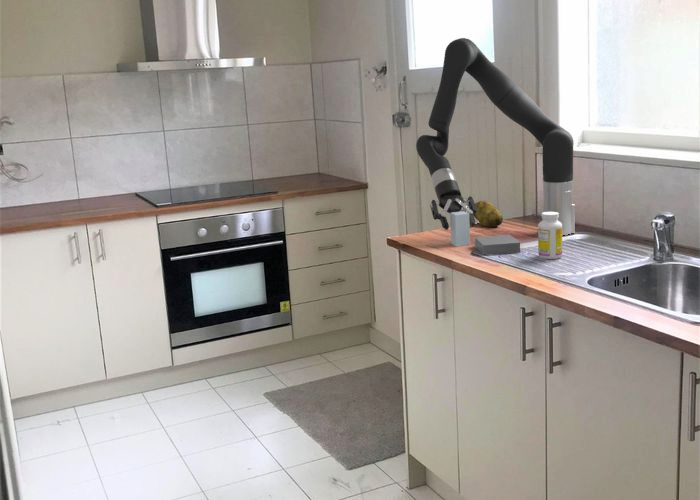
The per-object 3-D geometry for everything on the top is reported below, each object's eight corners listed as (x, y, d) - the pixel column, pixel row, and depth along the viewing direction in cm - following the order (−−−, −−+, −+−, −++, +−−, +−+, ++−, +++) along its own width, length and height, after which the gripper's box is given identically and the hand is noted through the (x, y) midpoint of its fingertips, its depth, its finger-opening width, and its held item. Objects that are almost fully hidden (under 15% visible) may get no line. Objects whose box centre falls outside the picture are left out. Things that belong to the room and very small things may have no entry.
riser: (509, 244, 241) (509, 234, 241) (520, 252, 231) (520, 242, 230) (474, 246, 241) (474, 237, 240) (483, 255, 230) (483, 245, 229)
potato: (481, 229, 263) (480, 206, 261) (470, 222, 276) (469, 200, 274) (504, 227, 264) (504, 204, 262) (492, 220, 277) (492, 198, 275)
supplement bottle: (560, 253, 227) (560, 210, 224) (563, 259, 220) (564, 215, 217) (536, 254, 227) (536, 211, 224) (539, 260, 221) (540, 215, 218)
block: (464, 242, 247) (463, 211, 245) (469, 245, 243) (469, 213, 241) (451, 243, 246) (450, 212, 244) (456, 246, 242) (455, 215, 240)
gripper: (427, 180, 246) (441, 222, 238) (469, 176, 250) (484, 218, 242) (422, 194, 253) (435, 236, 245) (463, 190, 256) (477, 231, 248)
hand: (460, 227), depth 243 cm, fingers open, 8 cm apart
